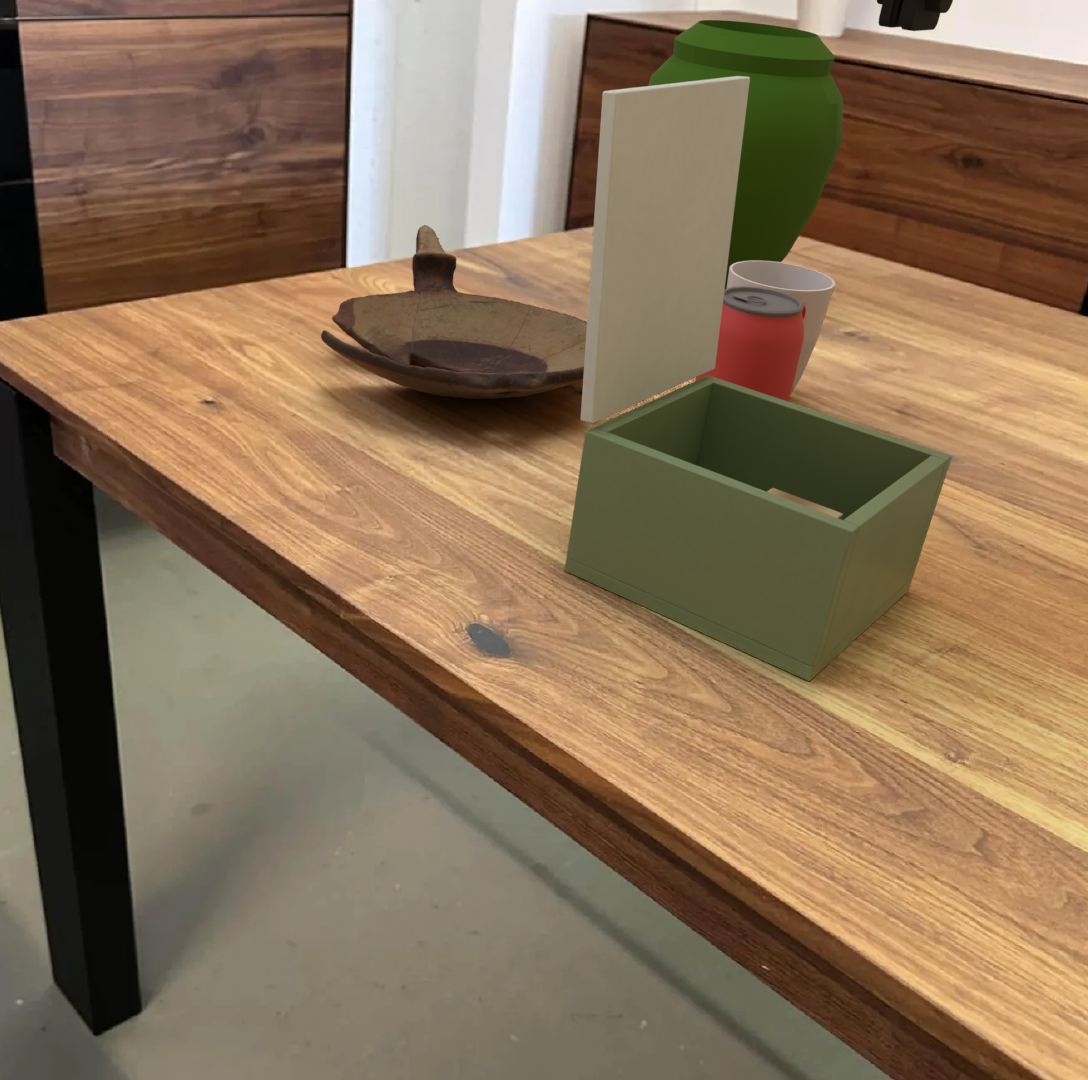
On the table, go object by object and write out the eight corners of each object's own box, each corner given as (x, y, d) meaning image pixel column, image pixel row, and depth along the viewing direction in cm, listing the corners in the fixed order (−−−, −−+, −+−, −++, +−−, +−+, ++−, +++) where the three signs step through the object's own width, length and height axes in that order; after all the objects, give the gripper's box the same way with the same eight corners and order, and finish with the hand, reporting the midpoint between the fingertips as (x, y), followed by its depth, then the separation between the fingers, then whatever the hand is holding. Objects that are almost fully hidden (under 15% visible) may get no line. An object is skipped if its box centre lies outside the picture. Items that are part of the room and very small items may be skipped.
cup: (688, 395, 98) (712, 272, 93) (729, 371, 104) (754, 254, 99) (782, 424, 95) (812, 297, 89) (819, 398, 100) (850, 277, 95)
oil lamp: (285, 426, 86) (286, 320, 82) (370, 303, 112) (374, 217, 107) (599, 468, 85) (616, 362, 81) (613, 333, 110) (626, 248, 106)
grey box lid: (750, 76, 68) (737, 75, 68) (616, 92, 58) (602, 90, 59) (715, 368, 76) (703, 366, 76) (592, 424, 66) (579, 420, 67)
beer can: (695, 437, 91) (727, 277, 85) (782, 459, 89) (821, 297, 82) (668, 467, 86) (700, 299, 79) (759, 491, 84) (799, 321, 77)
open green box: (908, 591, 73) (952, 455, 68) (809, 681, 64) (852, 531, 59) (682, 502, 81) (708, 374, 76) (563, 570, 72) (584, 430, 67)
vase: (823, 328, 117) (892, 52, 104) (622, 310, 116) (667, 29, 103) (780, 272, 134) (835, 27, 121) (604, 256, 133) (640, 7, 120)
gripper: (1277, -494, 45) (1097, 50, 55) (892, -471, 52) (794, 4, 62) (1239, -557, 40) (1048, 57, 49) (818, -520, 47) (723, 6, 57)
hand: (907, 26), depth 56 cm, fingers closed
